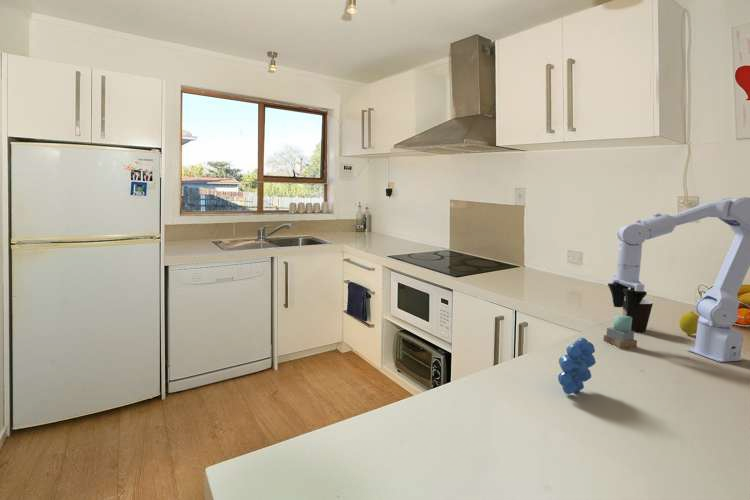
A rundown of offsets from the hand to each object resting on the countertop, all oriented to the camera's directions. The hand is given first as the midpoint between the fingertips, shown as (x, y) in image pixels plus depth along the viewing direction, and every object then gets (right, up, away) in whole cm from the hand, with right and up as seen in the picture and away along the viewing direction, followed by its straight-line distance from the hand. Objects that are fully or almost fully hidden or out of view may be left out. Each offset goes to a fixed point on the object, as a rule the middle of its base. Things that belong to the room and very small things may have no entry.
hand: (624, 310), depth 119 cm
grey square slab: (-1, -8, 0) cm, 8 cm away
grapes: (-31, -13, -30) cm, 45 cm away
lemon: (+28, -10, +11) cm, 32 cm away
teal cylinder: (-1, -6, 0) cm, 6 cm away
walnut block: (-1, -11, +1) cm, 11 cm away
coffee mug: (+14, -9, +17) cm, 24 cm away
